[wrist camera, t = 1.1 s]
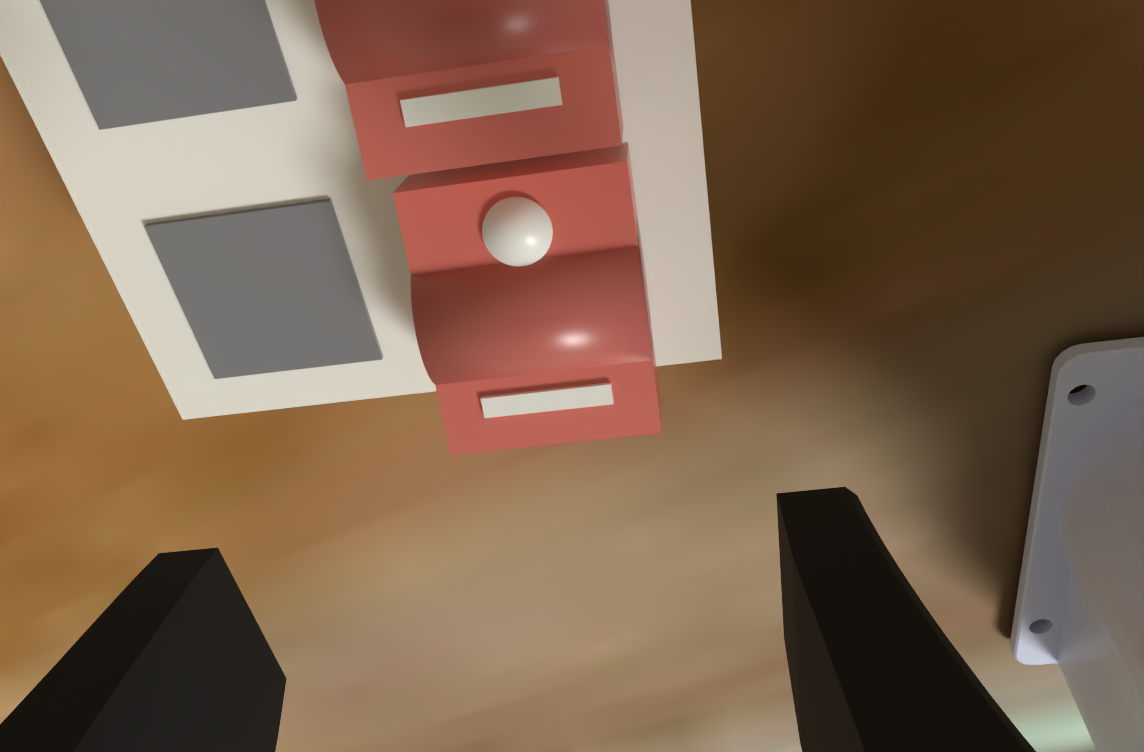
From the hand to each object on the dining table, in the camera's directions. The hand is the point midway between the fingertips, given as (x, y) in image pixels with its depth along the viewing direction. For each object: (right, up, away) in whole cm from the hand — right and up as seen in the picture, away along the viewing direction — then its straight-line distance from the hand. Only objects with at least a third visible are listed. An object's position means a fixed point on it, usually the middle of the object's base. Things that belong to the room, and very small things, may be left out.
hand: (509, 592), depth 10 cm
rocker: (0, +3, +4) cm, 5 cm away
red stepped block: (-1, +7, +2) cm, 7 cm away
